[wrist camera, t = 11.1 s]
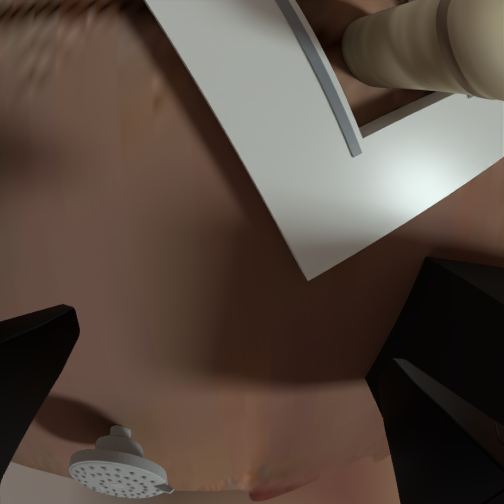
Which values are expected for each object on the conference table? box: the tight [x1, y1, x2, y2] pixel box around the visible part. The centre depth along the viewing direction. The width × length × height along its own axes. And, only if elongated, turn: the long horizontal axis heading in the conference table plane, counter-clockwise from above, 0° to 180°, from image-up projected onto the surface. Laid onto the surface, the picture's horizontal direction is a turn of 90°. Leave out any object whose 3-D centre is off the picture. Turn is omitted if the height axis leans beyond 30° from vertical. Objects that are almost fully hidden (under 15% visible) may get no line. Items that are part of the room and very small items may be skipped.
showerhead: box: [69, 425, 174, 499], centre depth 24 cm, size 9×7×10 cm
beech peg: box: [341, 0, 504, 101], centre depth 11 cm, size 5×5×10 cm
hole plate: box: [143, 0, 504, 281], centre depth 15 cm, size 22×22×2 cm
